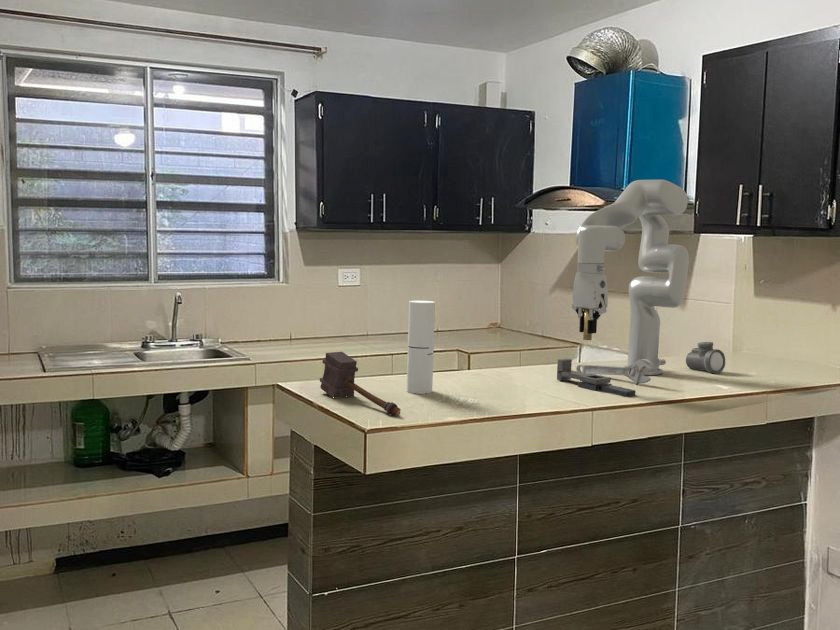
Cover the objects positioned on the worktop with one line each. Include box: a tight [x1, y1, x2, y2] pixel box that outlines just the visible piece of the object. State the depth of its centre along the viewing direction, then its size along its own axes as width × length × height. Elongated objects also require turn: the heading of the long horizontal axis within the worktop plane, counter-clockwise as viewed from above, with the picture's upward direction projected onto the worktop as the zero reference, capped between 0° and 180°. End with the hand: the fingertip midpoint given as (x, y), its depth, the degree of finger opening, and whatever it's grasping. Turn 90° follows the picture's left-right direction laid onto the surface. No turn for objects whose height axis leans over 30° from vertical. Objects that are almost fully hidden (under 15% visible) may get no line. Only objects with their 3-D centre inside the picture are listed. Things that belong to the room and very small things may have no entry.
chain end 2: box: [577, 381, 636, 398], centre depth 231 cm, size 7×17×1 cm, turn 36°
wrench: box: [575, 359, 655, 386], centre depth 249 cm, size 8×2×30 cm
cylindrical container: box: [406, 299, 436, 395], centre depth 222 cm, size 7×7×25 cm
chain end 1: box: [556, 358, 611, 384], centre depth 239 cm, size 6×17×6 cm, turn 36°
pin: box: [582, 308, 593, 341], centre depth 233 cm, size 2×2×9 cm
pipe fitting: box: [685, 341, 726, 375], centre depth 270 cm, size 12×8×10 cm
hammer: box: [319, 351, 402, 417], centre depth 205 cm, size 7×33×10 cm, turn 36°
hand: (587, 332), depth 233 cm, fingers closed on pin, 2 cm apart
